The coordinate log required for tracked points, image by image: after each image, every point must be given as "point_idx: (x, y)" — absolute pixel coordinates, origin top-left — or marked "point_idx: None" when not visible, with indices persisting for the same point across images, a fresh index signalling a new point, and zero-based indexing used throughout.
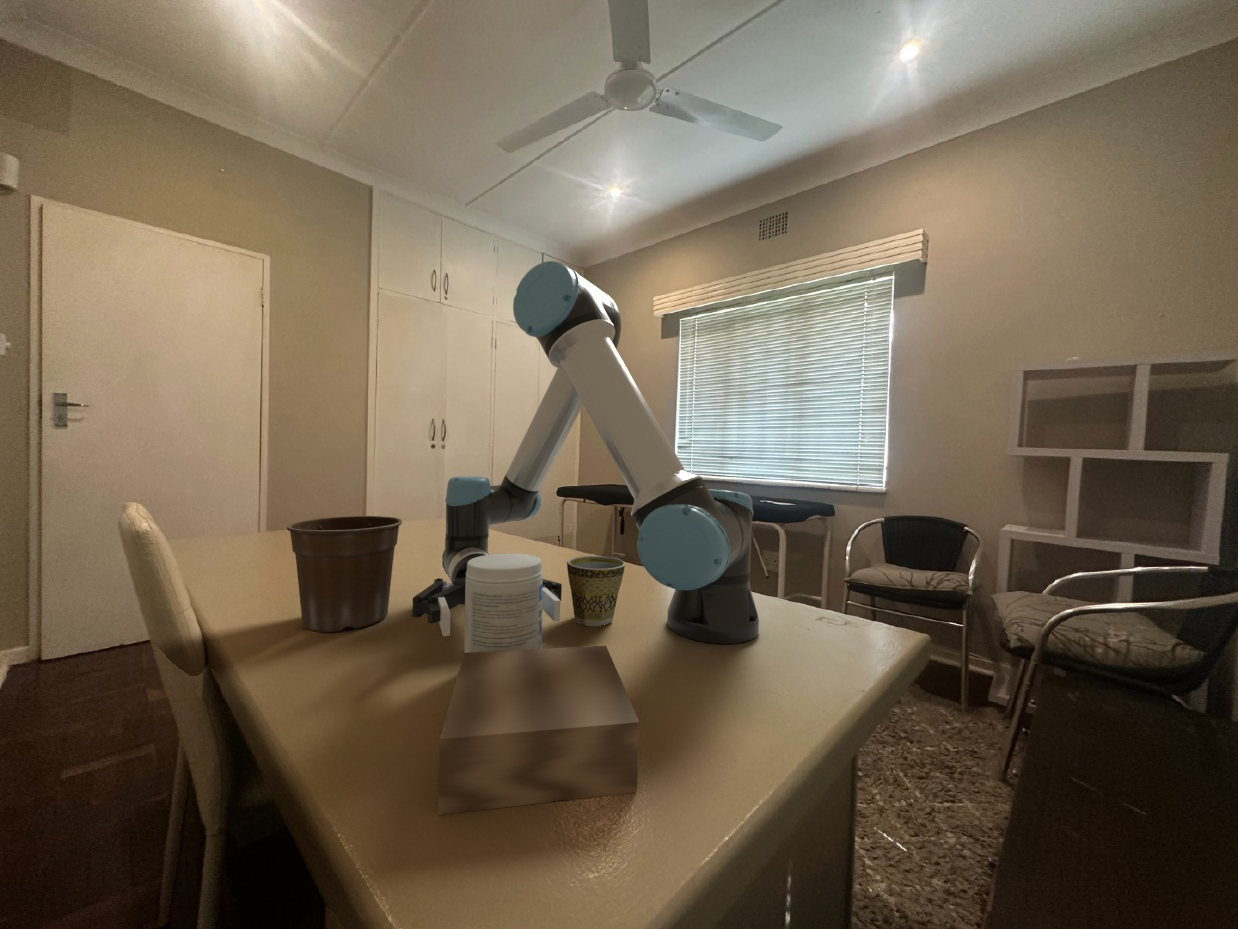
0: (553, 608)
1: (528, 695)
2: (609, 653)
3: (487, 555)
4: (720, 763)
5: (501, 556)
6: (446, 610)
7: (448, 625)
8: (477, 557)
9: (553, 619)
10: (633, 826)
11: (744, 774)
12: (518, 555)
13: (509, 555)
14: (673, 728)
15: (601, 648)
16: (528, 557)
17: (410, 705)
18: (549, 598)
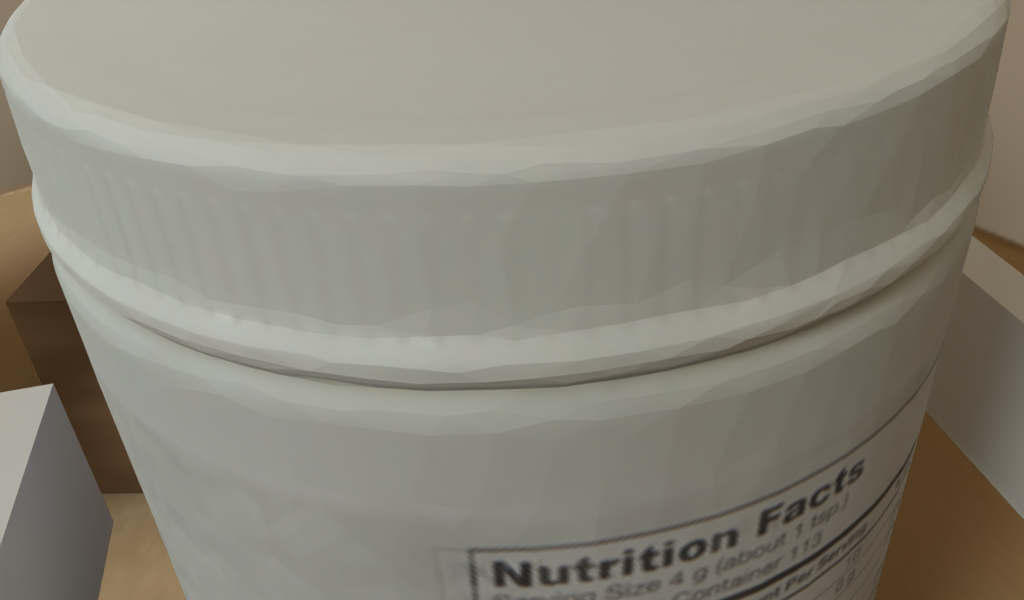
0: (74, 464)
1: None
2: (50, 252)
3: (827, 71)
4: (23, 241)
5: (548, 34)
6: (977, 263)
7: None
8: (950, 7)
9: (107, 527)
10: None
11: (8, 220)
12: (244, 68)
13: (404, 62)
14: (10, 331)
15: (48, 284)
16: (143, 14)
17: (966, 518)
18: (27, 511)
